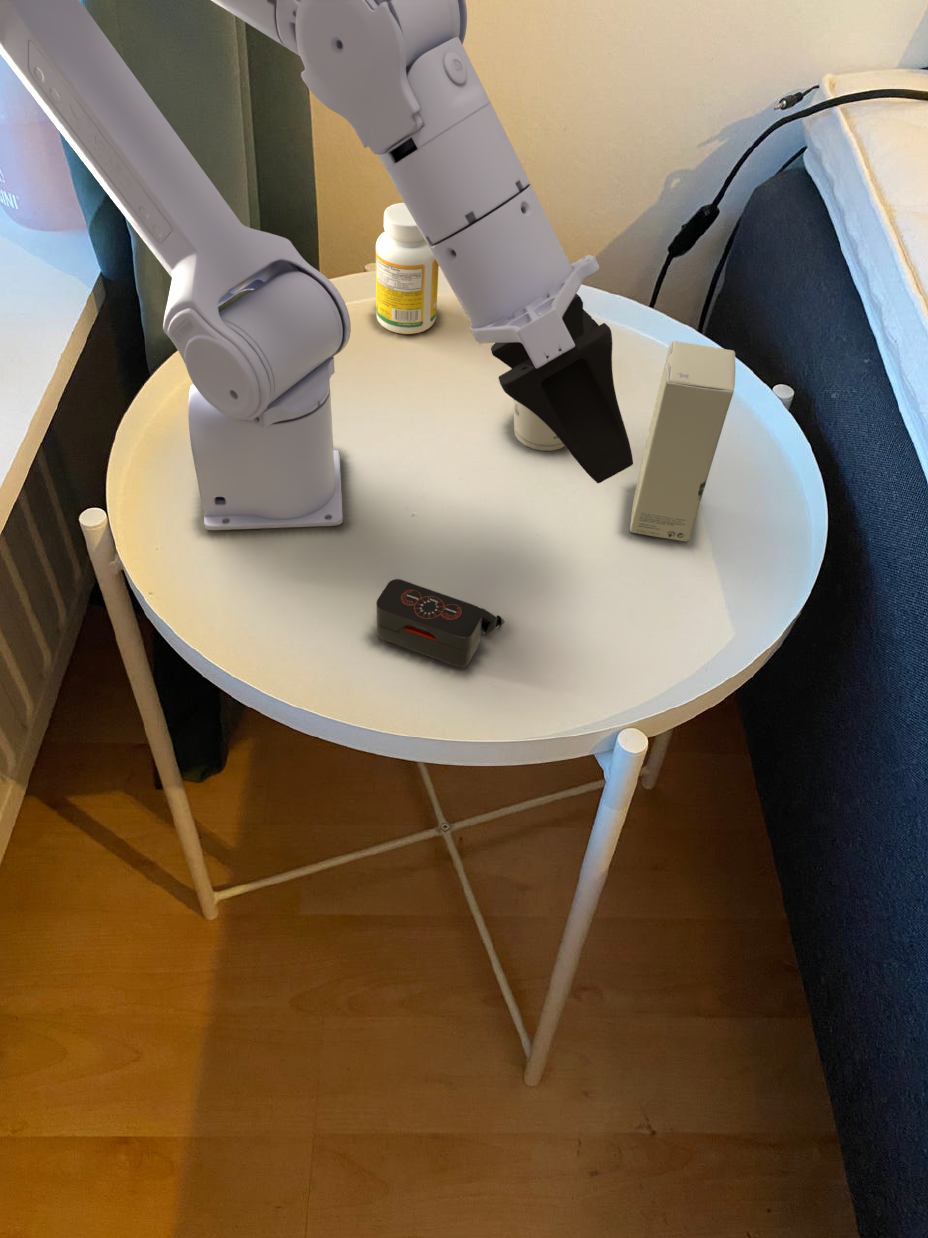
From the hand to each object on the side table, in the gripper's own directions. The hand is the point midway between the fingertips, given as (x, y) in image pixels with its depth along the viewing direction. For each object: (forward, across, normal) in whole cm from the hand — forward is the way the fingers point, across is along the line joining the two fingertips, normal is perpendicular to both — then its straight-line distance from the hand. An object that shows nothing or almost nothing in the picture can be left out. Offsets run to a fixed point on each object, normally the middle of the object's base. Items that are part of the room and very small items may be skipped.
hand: (602, 451), depth 52 cm
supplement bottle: (-7, +38, +9) cm, 40 cm away
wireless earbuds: (+7, +4, +14) cm, 17 cm away
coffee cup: (+4, +24, +3) cm, 25 cm away
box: (+12, +16, -2) cm, 20 cm away
